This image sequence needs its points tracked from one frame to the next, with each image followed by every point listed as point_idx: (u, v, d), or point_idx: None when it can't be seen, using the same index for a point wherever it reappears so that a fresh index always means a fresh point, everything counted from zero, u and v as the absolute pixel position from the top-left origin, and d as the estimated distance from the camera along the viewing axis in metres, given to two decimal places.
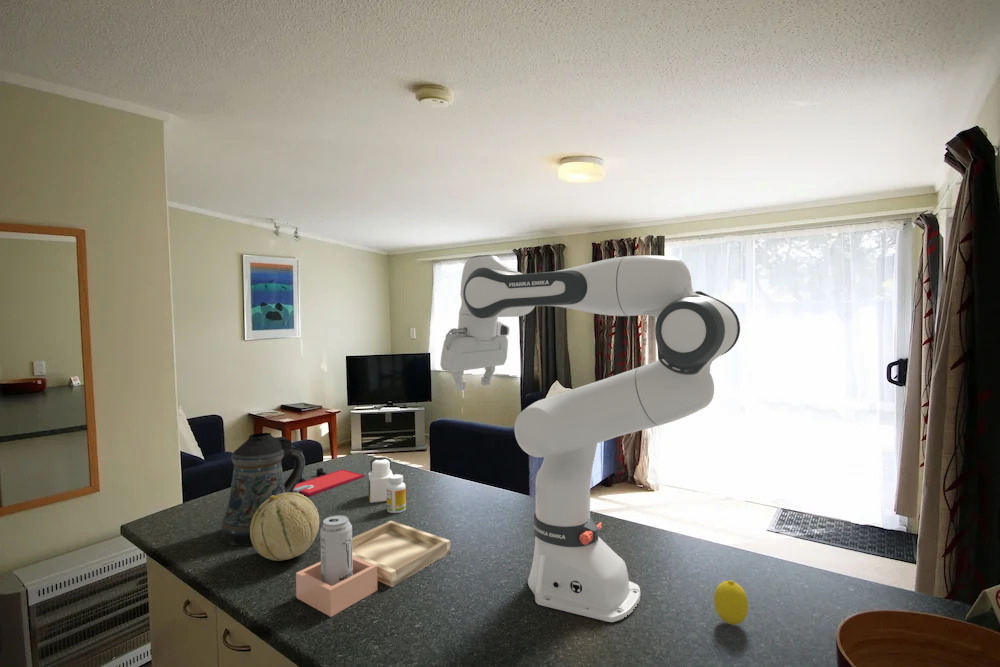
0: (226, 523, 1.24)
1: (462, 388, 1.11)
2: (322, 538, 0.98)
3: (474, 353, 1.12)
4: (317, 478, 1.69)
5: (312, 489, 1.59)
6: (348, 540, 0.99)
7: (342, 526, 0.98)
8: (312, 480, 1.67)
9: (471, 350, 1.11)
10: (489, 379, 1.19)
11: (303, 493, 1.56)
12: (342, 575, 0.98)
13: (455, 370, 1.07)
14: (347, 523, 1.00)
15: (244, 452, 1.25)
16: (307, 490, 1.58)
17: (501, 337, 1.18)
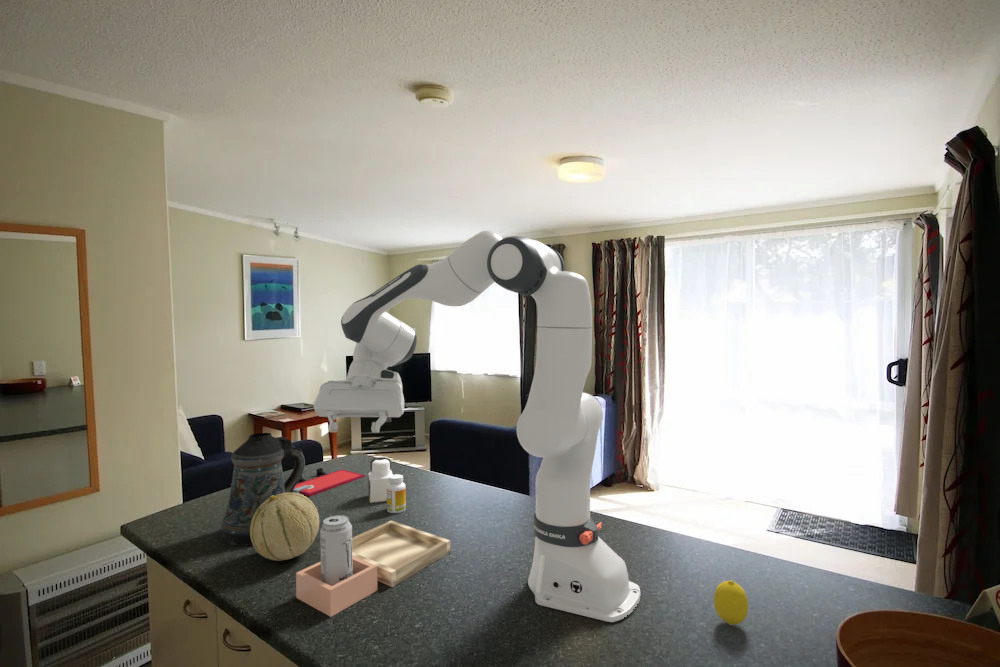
0: (226, 523, 1.24)
1: (330, 426, 1.12)
2: (322, 538, 0.98)
3: (347, 395, 1.16)
4: (317, 478, 1.69)
5: (312, 489, 1.59)
6: (348, 540, 0.99)
7: (342, 526, 0.98)
8: (312, 480, 1.67)
9: (344, 393, 1.17)
10: (375, 423, 1.12)
11: (303, 493, 1.56)
12: (342, 575, 0.98)
13: (318, 407, 1.14)
14: (347, 523, 1.00)
15: (244, 452, 1.25)
16: (307, 490, 1.58)
17: (386, 381, 1.18)
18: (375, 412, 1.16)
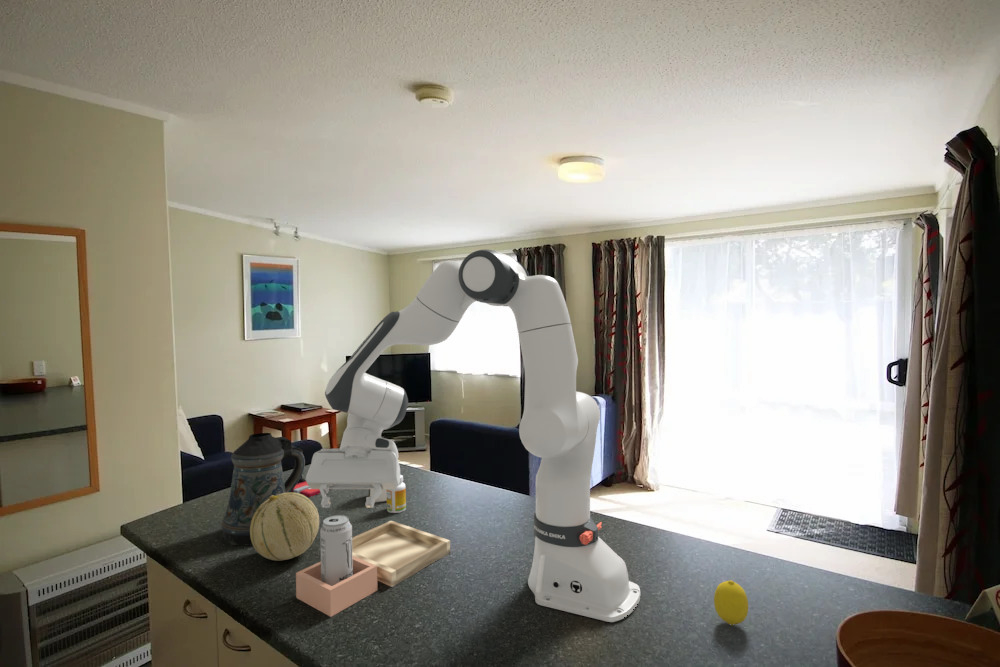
0: (226, 523, 1.24)
1: (323, 502, 1.07)
2: (322, 538, 0.98)
3: (341, 467, 1.12)
4: None
5: (313, 489, 1.59)
6: (348, 540, 0.99)
7: (342, 526, 0.98)
8: None
9: (338, 464, 1.12)
10: (370, 498, 1.07)
11: (304, 493, 1.56)
12: (342, 575, 0.98)
13: (310, 480, 1.09)
14: (347, 523, 1.00)
15: (244, 452, 1.25)
16: (308, 490, 1.58)
17: (381, 451, 1.13)
18: (370, 484, 1.11)
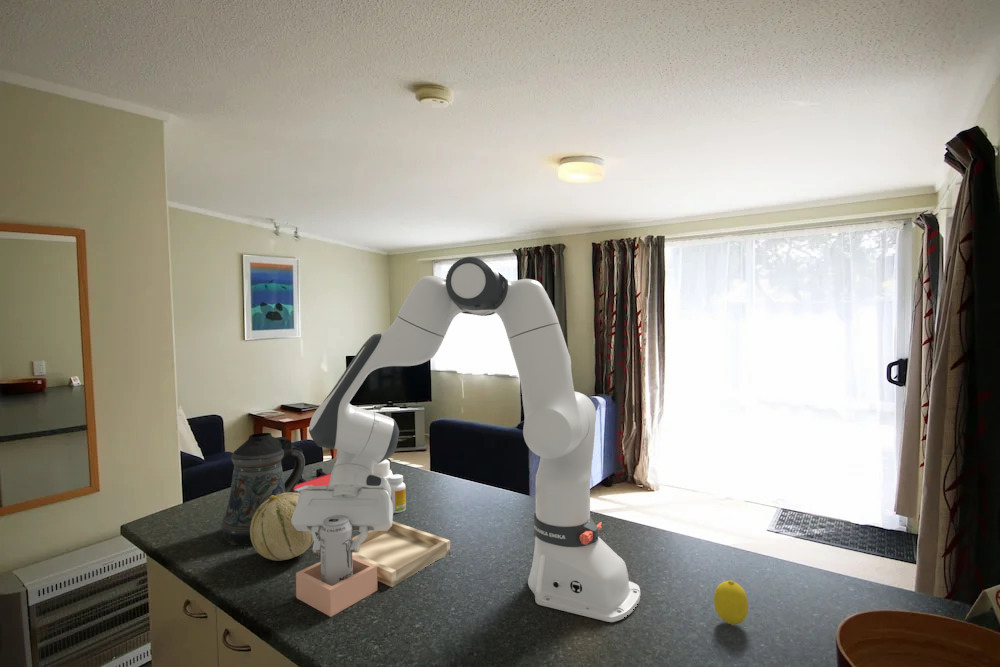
0: (226, 523, 1.24)
1: (315, 547, 0.99)
2: (322, 538, 0.98)
3: (329, 507, 1.04)
4: (317, 478, 1.69)
5: None
6: (348, 540, 0.99)
7: (342, 526, 0.98)
8: (312, 481, 1.67)
9: (326, 504, 1.05)
10: (355, 542, 1.00)
11: None
12: (342, 575, 0.98)
13: (295, 523, 1.02)
14: (347, 523, 1.00)
15: (244, 452, 1.25)
16: None
17: (372, 489, 1.05)
18: None
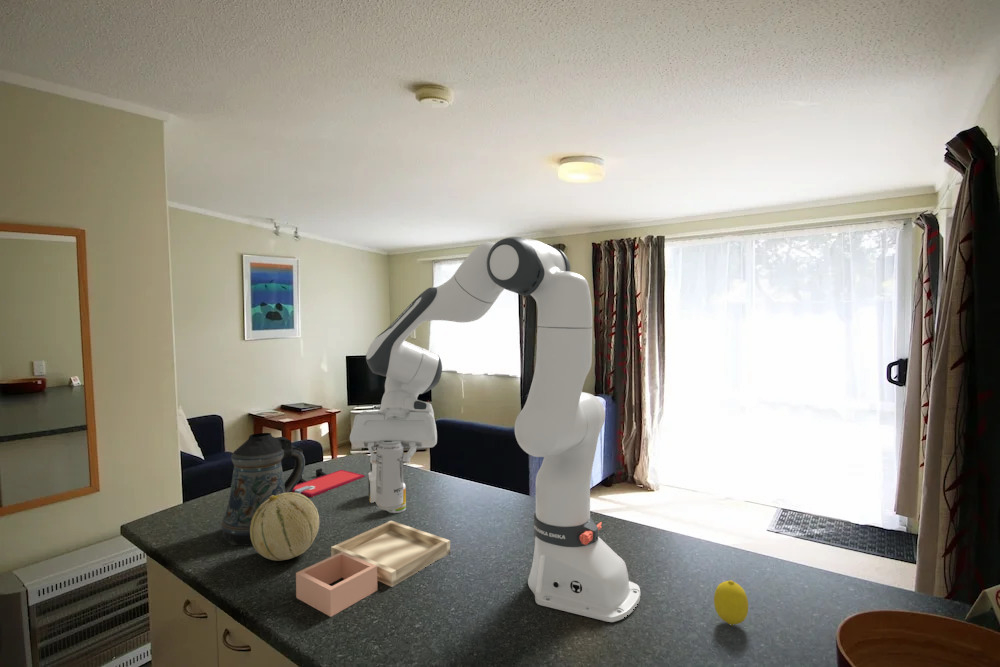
0: (226, 523, 1.24)
1: (372, 458, 1.14)
2: (379, 455, 1.13)
3: (382, 427, 1.19)
4: (317, 479, 1.69)
5: (314, 490, 1.58)
6: (401, 457, 1.14)
7: (397, 445, 1.14)
8: (312, 481, 1.67)
9: (379, 425, 1.20)
10: (406, 454, 1.15)
11: (305, 494, 1.56)
12: (396, 487, 1.13)
13: (354, 439, 1.17)
14: (400, 443, 1.15)
15: (244, 452, 1.25)
16: (309, 491, 1.57)
17: (419, 412, 1.21)
18: None
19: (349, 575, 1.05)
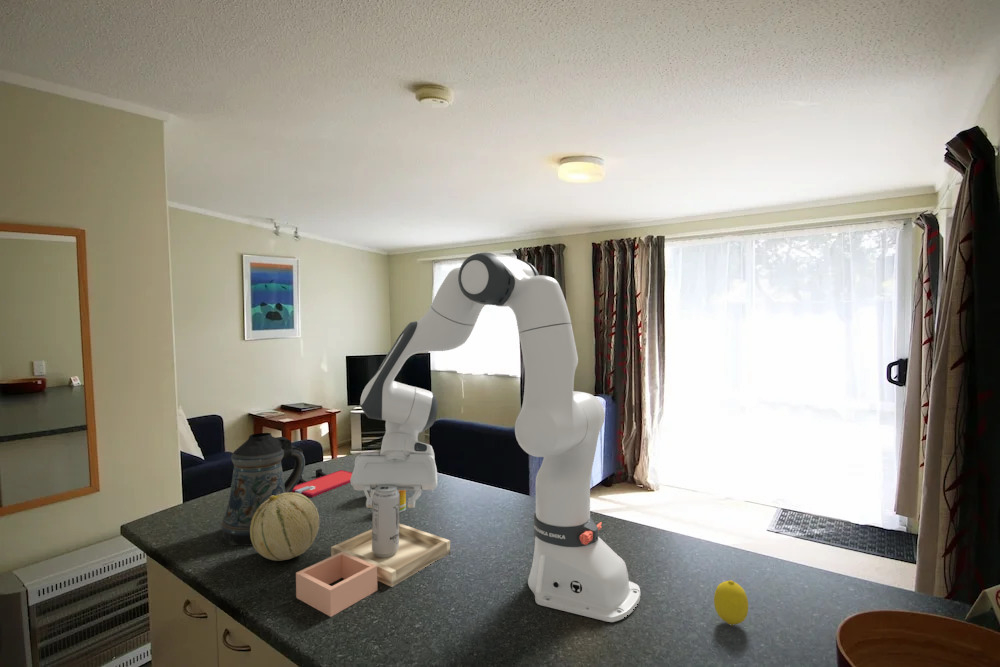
0: (226, 523, 1.24)
1: (368, 503, 1.15)
2: (375, 502, 1.13)
3: (382, 469, 1.19)
4: (317, 479, 1.69)
5: (314, 490, 1.58)
6: (397, 504, 1.15)
7: (393, 492, 1.14)
8: (313, 481, 1.66)
9: (380, 467, 1.20)
10: (411, 498, 1.15)
11: (306, 494, 1.55)
12: (392, 535, 1.13)
13: (354, 482, 1.17)
14: (396, 490, 1.15)
15: (244, 452, 1.25)
16: (309, 491, 1.57)
17: (420, 454, 1.21)
18: (410, 485, 1.19)
19: (349, 575, 1.05)
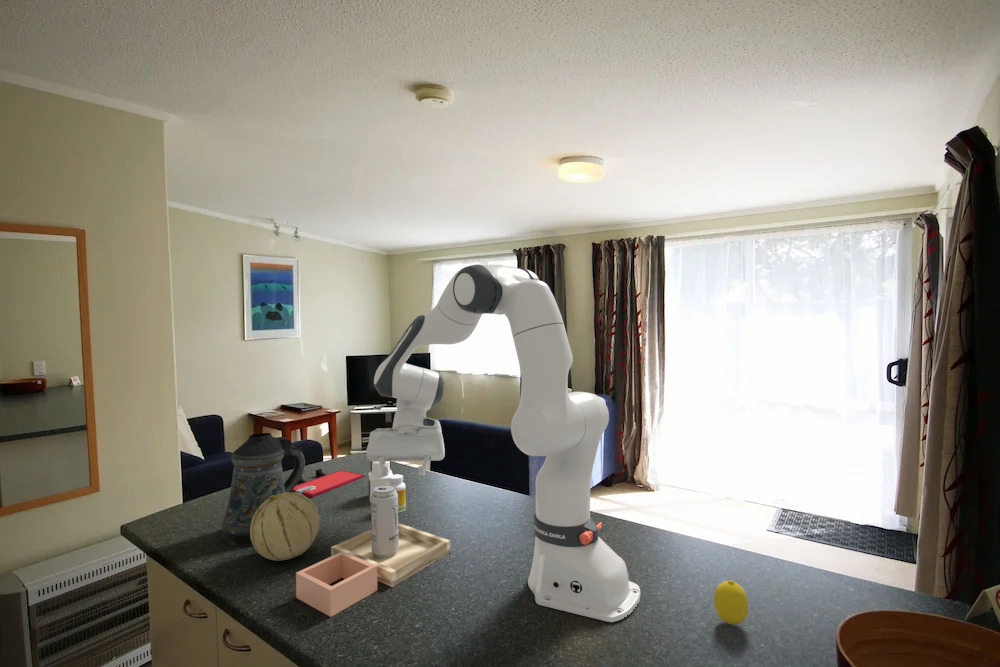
0: (226, 523, 1.24)
1: (382, 471, 1.27)
2: (374, 504, 1.13)
3: (395, 442, 1.32)
4: (317, 479, 1.68)
5: (315, 490, 1.58)
6: (396, 505, 1.14)
7: (391, 493, 1.14)
8: (313, 481, 1.66)
9: (392, 440, 1.32)
10: (421, 467, 1.28)
11: (306, 494, 1.55)
12: (391, 535, 1.13)
13: (370, 454, 1.30)
14: (394, 491, 1.15)
15: (244, 452, 1.25)
16: (310, 491, 1.57)
17: (428, 429, 1.33)
18: (420, 456, 1.31)
19: (349, 575, 1.05)
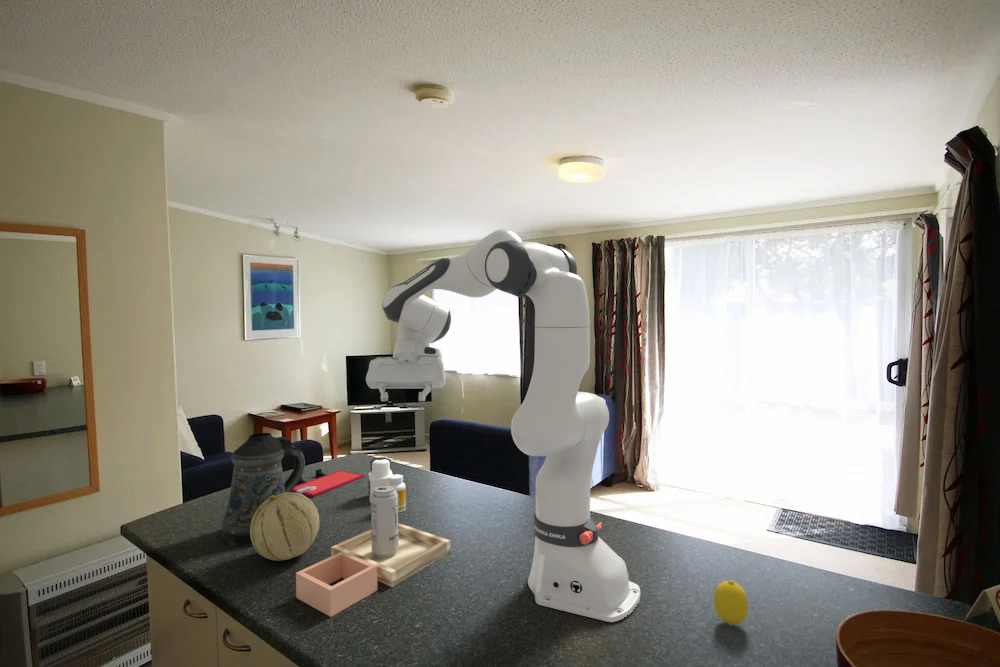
0: (226, 523, 1.24)
1: (382, 396, 1.26)
2: (374, 504, 1.13)
3: (395, 369, 1.30)
4: (317, 479, 1.68)
5: (315, 490, 1.58)
6: (396, 505, 1.14)
7: (391, 493, 1.14)
8: (313, 481, 1.66)
9: (392, 368, 1.31)
10: (422, 392, 1.26)
11: (307, 494, 1.55)
12: (391, 535, 1.13)
13: (370, 379, 1.28)
14: (394, 491, 1.15)
15: (244, 452, 1.25)
16: (310, 491, 1.57)
17: (429, 357, 1.32)
18: (420, 384, 1.30)
19: (349, 575, 1.05)
